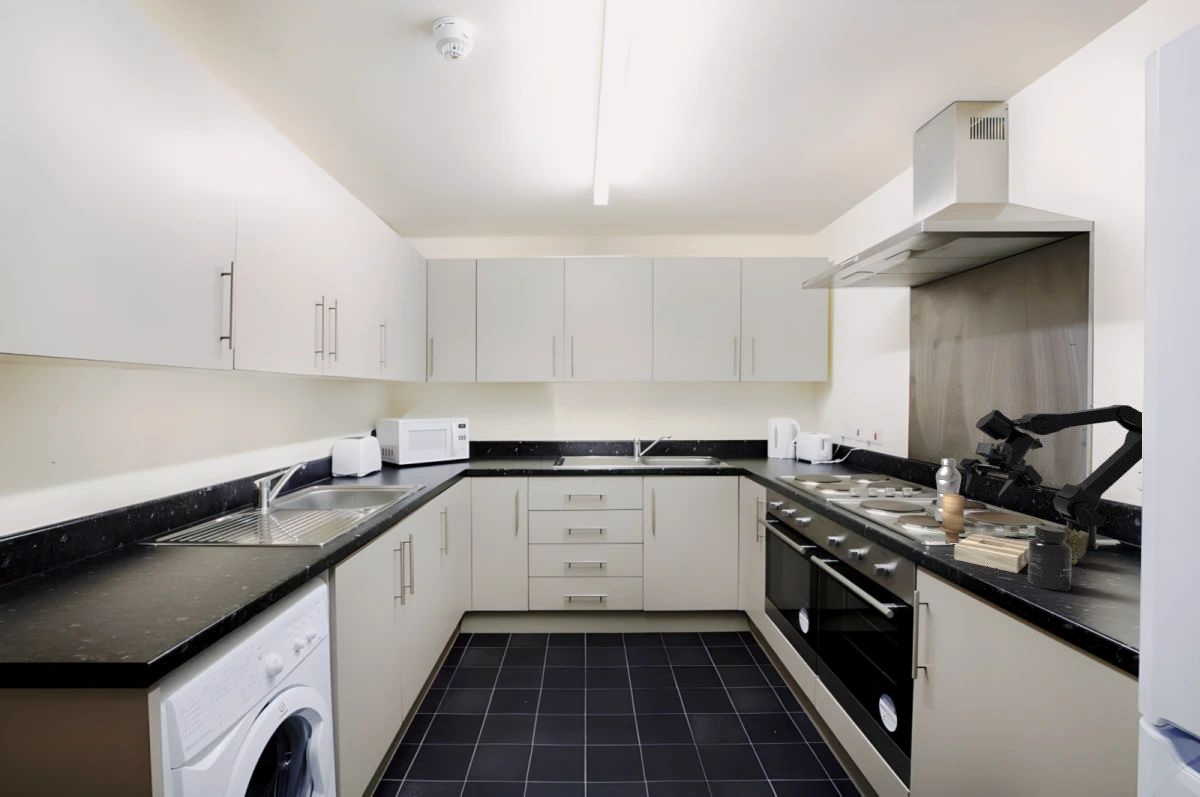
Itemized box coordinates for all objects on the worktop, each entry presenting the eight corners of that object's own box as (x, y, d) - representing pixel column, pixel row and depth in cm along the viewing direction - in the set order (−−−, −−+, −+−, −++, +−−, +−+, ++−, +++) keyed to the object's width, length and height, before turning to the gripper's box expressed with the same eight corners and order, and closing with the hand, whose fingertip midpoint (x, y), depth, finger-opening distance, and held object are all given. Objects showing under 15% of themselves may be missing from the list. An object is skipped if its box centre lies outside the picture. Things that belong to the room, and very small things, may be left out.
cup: (1070, 558, 125) (1071, 526, 124) (1097, 569, 117) (1098, 534, 117) (1038, 557, 125) (1038, 525, 125) (1062, 568, 118) (1062, 533, 118)
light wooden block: (973, 546, 134) (973, 533, 134) (1032, 558, 125) (1032, 544, 125) (954, 559, 123) (954, 544, 123) (1017, 573, 114) (1017, 557, 114)
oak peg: (943, 539, 141) (944, 492, 140) (967, 543, 136) (968, 496, 136) (936, 542, 137) (937, 495, 137) (961, 547, 133) (962, 498, 132)
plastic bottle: (930, 520, 161) (931, 457, 160) (953, 521, 160) (954, 458, 160) (940, 525, 154) (942, 460, 154) (965, 526, 153) (966, 460, 153)
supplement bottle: (1074, 594, 102) (1076, 535, 102) (1030, 587, 106) (1032, 530, 106) (1066, 583, 108) (1067, 527, 108) (1024, 577, 112) (1026, 522, 112)
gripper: (963, 429, 146) (933, 471, 144) (1031, 433, 128) (998, 481, 126) (986, 455, 148) (957, 496, 146) (1056, 462, 130) (1025, 509, 128)
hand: (982, 495), depth 136 cm, fingers open, 9 cm apart
